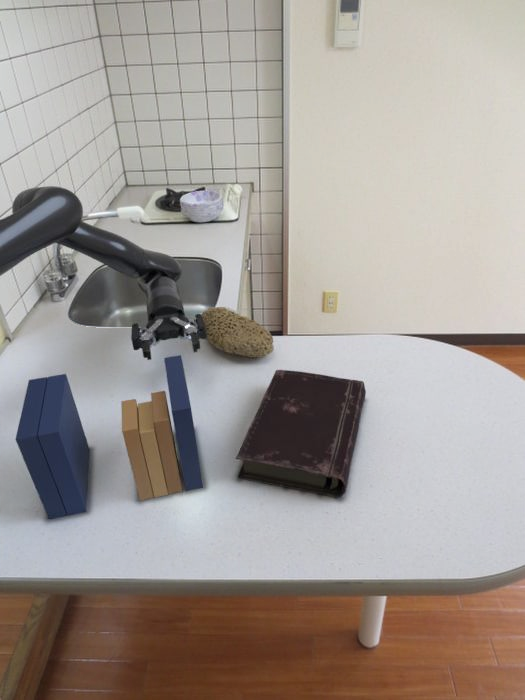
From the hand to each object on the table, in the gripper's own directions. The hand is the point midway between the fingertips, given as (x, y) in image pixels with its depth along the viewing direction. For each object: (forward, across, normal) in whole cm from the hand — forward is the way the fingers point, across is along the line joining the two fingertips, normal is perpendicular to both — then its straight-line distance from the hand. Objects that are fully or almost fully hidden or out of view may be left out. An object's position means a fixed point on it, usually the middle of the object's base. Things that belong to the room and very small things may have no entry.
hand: (172, 352), depth 97 cm
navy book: (+15, 0, +12) cm, 20 cm away
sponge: (-18, +15, +13) cm, 26 cm away
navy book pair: (+15, -20, +12) cm, 28 cm away
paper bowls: (-102, +19, +13) cm, 105 cm away
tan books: (+19, -6, +12) cm, 23 cm away
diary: (+15, +21, +12) cm, 29 cm away
